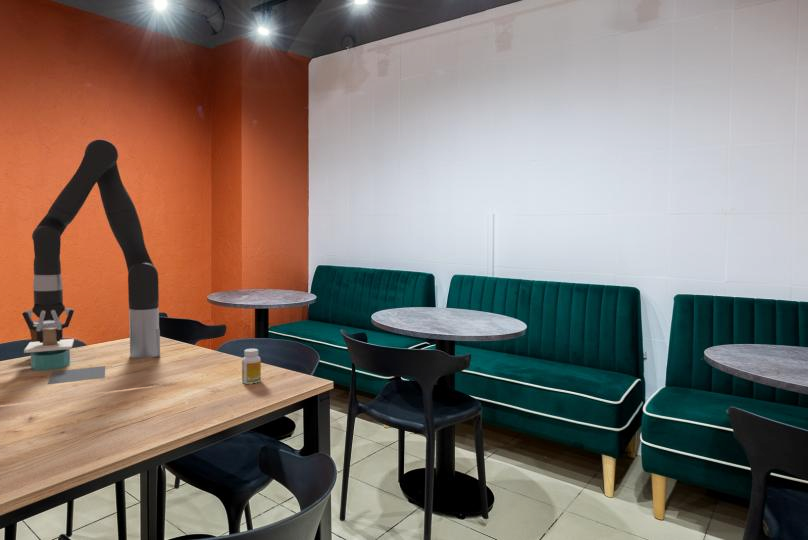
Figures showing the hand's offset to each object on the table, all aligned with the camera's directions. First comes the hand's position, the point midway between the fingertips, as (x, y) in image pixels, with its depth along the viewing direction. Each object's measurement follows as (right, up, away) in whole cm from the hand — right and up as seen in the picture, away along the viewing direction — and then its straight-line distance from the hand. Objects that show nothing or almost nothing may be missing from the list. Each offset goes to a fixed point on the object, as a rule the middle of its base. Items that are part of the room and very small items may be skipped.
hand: (50, 341), depth 159 cm
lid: (0, -2, 0) cm, 2 cm away
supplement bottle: (+68, -11, -10) cm, 69 cm away
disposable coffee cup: (-12, -7, +15) cm, 20 cm away
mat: (+14, -9, -8) cm, 19 cm away
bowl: (0, -8, +1) cm, 8 cm away
